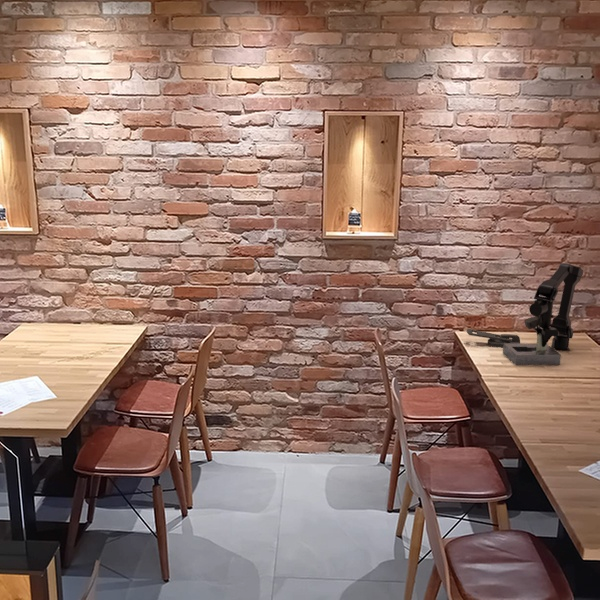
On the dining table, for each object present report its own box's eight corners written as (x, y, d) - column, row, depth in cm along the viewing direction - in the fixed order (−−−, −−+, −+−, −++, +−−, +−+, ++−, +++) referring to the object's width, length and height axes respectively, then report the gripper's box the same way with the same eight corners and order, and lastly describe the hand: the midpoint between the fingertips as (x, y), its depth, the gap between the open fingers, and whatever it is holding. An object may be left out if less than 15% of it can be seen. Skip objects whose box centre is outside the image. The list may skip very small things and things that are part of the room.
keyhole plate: (544, 353, 332) (546, 343, 331) (559, 364, 317) (561, 354, 316) (502, 353, 331) (503, 343, 329) (515, 365, 315) (516, 355, 314)
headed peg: (543, 354, 327) (546, 333, 324) (548, 358, 322) (551, 336, 319) (532, 354, 326) (534, 333, 324) (536, 358, 321) (539, 336, 319)
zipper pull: (465, 327, 346) (518, 330, 344) (464, 341, 348) (517, 343, 346) (468, 333, 338) (522, 335, 336) (467, 346, 339) (521, 349, 338)
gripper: (519, 306, 327) (516, 339, 331) (536, 317, 309) (532, 352, 313) (543, 306, 328) (539, 339, 332) (561, 317, 310) (557, 352, 314)
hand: (541, 345), depth 323 cm, fingers closed on headed peg, 3 cm apart
